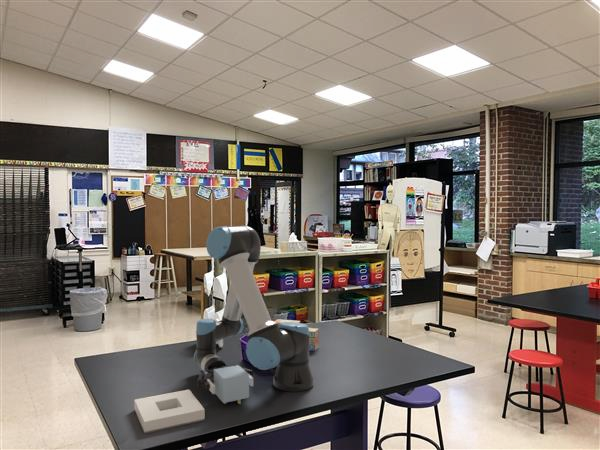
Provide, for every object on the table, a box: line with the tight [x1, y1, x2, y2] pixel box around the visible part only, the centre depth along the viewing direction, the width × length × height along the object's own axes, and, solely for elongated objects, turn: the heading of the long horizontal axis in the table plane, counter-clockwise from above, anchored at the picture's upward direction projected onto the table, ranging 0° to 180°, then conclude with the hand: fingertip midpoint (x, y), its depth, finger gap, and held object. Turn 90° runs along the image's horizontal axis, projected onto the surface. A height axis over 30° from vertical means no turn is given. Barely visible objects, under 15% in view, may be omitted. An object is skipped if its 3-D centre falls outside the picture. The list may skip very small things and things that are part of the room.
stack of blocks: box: [273, 318, 319, 352], centre depth 220 cm, size 21×6×12 cm, turn 71°
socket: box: [134, 389, 206, 434], centre depth 147 cm, size 18×18×4 cm
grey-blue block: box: [213, 364, 250, 405], centre depth 157 cm, size 10×9×10 cm
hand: (233, 386), depth 154 cm, fingers open, 13 cm apart
